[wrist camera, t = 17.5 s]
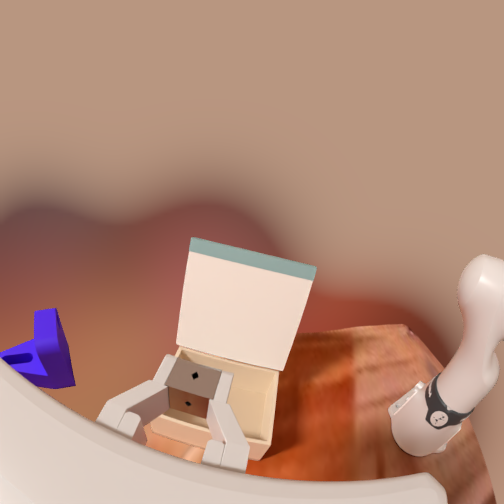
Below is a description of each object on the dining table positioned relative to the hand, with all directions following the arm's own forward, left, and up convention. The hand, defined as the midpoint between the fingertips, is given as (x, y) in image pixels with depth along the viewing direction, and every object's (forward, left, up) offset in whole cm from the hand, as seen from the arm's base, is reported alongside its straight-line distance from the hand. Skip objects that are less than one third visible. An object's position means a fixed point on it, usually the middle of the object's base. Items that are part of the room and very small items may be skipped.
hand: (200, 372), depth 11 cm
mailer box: (-12, -12, -35) cm, 39 cm away
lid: (-19, -19, -17) cm, 31 cm away
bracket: (+19, -33, -35) cm, 52 cm away
